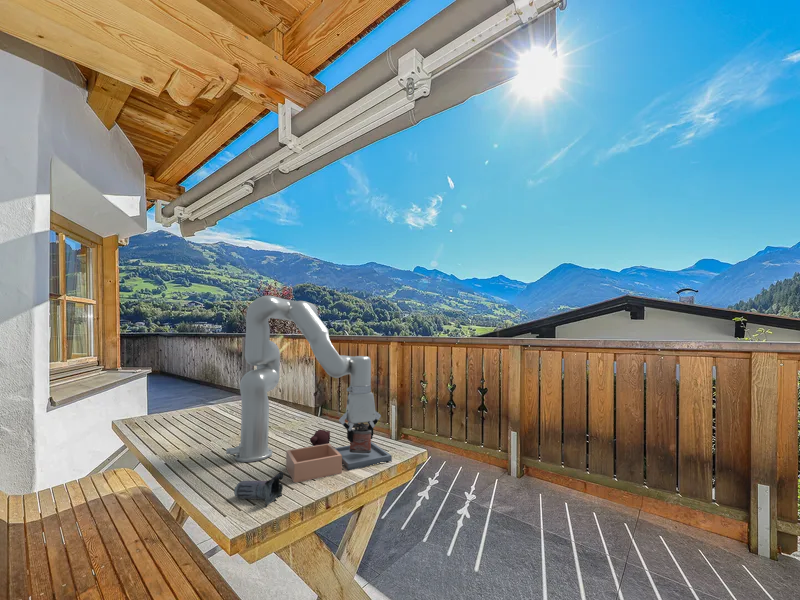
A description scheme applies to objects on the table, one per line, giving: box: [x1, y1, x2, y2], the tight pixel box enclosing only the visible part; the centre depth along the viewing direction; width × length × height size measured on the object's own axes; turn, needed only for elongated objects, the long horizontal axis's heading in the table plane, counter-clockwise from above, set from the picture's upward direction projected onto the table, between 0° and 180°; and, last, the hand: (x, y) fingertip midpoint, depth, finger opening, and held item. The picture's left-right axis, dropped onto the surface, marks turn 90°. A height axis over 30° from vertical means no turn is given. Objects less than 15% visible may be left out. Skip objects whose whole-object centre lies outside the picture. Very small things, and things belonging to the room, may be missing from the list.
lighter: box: [349, 422, 372, 453], centre depth 124 cm, size 8×3×10 cm, turn 80°
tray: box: [334, 441, 393, 471], centre depth 124 cm, size 16×18×2 cm
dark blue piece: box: [233, 470, 285, 508], centre depth 93 cm, size 9×8×12 cm
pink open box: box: [285, 442, 343, 484], centre depth 113 cm, size 15×14×6 cm
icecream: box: [309, 429, 331, 446], centre depth 136 cm, size 7×7×15 cm
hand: (360, 439), depth 124 cm, fingers closed on lighter, 7 cm apart
